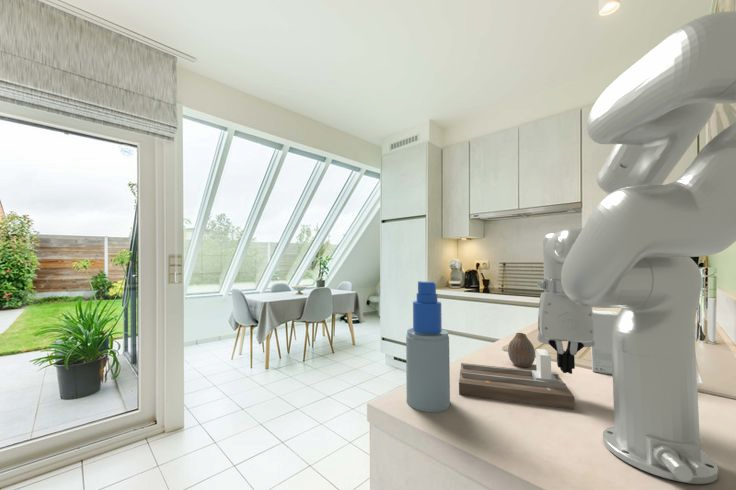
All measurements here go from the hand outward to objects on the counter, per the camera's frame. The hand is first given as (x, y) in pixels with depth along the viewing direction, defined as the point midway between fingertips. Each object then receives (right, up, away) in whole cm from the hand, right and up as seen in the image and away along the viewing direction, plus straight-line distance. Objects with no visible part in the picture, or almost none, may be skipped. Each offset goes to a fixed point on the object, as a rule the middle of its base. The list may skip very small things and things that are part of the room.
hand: (566, 371), depth 68 cm
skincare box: (+21, -6, +16) cm, 27 cm away
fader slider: (-4, -3, +1) cm, 5 cm away
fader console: (-11, -5, +3) cm, 13 cm away
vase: (0, -7, +20) cm, 21 cm away
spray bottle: (-31, -5, -4) cm, 32 cm away
